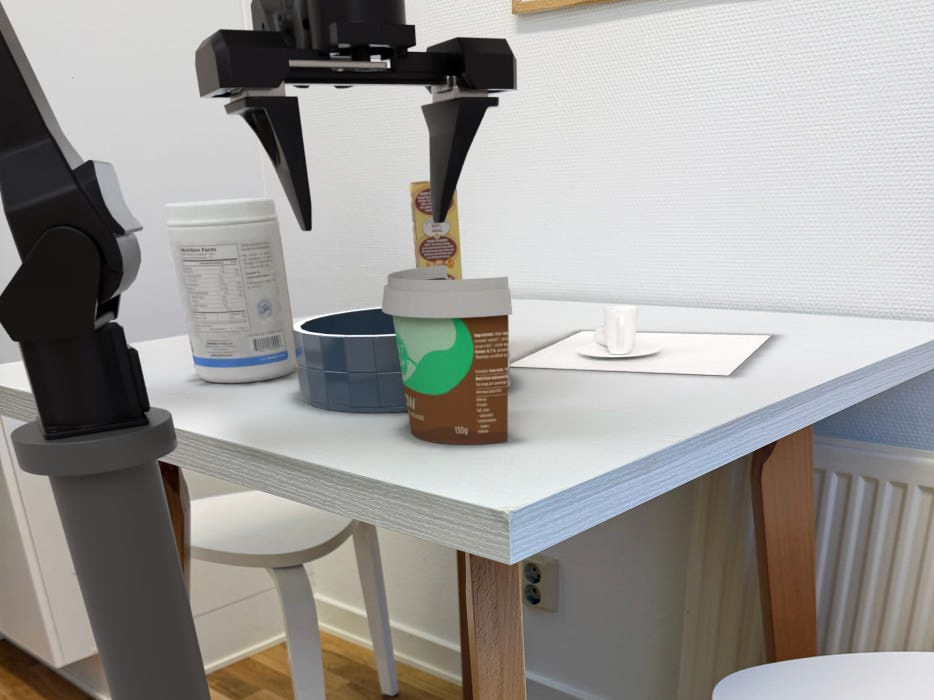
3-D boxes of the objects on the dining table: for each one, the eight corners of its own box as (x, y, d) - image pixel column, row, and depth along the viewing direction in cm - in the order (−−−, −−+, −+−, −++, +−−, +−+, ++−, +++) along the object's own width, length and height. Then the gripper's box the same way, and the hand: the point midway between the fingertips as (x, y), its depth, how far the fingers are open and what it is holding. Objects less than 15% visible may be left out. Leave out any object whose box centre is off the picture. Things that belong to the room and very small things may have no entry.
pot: (347, 424, 63) (337, 345, 60) (274, 386, 77) (264, 320, 74) (550, 389, 70) (549, 317, 68) (451, 360, 84) (447, 299, 81)
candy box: (468, 359, 84) (459, 178, 77) (424, 362, 84) (411, 181, 77) (460, 344, 92) (451, 179, 85) (420, 347, 91) (408, 181, 84)
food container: (373, 419, 64) (358, 271, 60) (452, 408, 66) (443, 264, 61) (424, 460, 54) (410, 286, 49) (516, 446, 56) (511, 277, 51)
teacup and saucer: (595, 344, 88) (596, 300, 86) (674, 346, 84) (676, 301, 83) (563, 360, 81) (563, 313, 79) (647, 363, 78) (649, 314, 76)
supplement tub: (218, 366, 87) (188, 201, 80) (311, 363, 86) (289, 195, 79) (180, 387, 79) (142, 204, 72) (282, 384, 78) (254, 198, 71)
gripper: (437, -37, 60) (449, 217, 67) (154, -56, 52) (202, 232, 59) (519, -78, 51) (523, 219, 58) (193, -109, 43) (244, 237, 51)
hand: (374, 226), depth 57 cm, fingers open, 9 cm apart
